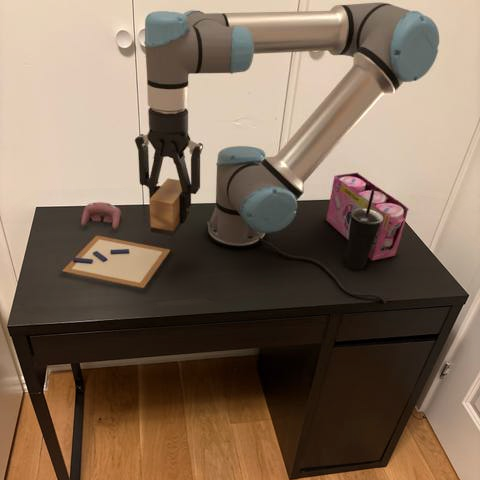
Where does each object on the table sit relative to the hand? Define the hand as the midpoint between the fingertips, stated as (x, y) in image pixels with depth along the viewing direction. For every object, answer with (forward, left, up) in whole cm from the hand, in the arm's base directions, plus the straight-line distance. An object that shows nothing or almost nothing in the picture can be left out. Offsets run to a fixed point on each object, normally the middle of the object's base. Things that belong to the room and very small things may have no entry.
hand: (170, 218), depth 111 cm
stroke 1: (+21, +4, -14) cm, 25 cm away
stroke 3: (+14, -3, -14) cm, 20 cm away
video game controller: (+25, -15, -15) cm, 33 cm away
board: (+13, 0, -15) cm, 20 cm away
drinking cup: (-42, -19, -15) cm, 48 cm away
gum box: (-42, -33, -15) cm, 55 cm away
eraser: (0, 0, -1) cm, 1 cm away
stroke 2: (+18, +1, -14) cm, 23 cm away
